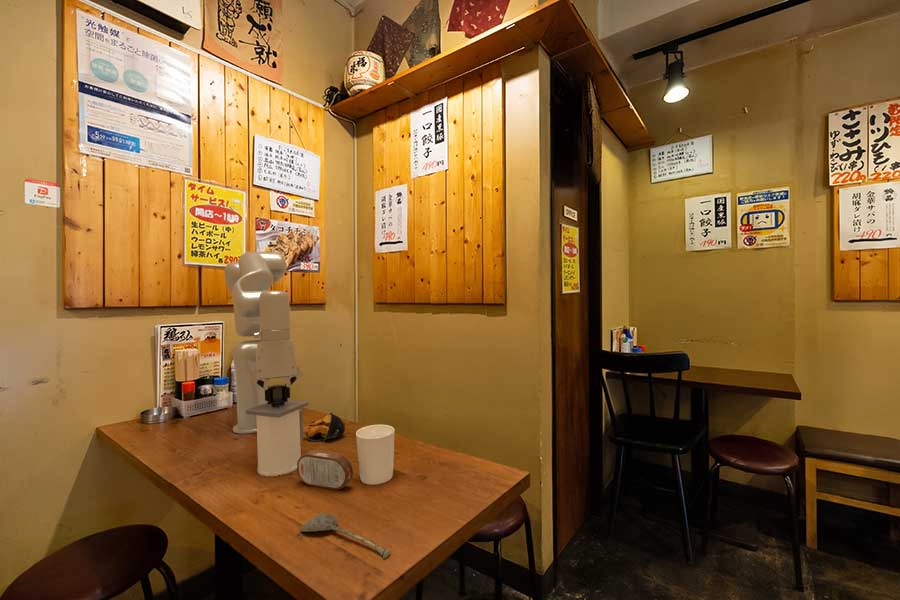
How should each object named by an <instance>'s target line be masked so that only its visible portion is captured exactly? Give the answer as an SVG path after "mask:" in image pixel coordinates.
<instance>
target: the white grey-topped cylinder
mask: <svg viewBox="0 0 900 600" xmlns="http://www.w3.org/2000/svg"><path fill="white" fill-rule="evenodd" d="M308 406H309V401H304V400H303V401H302V400H291V399H288V402H285V404H283V405H280V407H279V408H276V406H271V404H268V402H267V403H265V404H262V405H259V406H256V407H254V408H251V409H248V410H246V414H251V415H256V419H257V432H256V440H257V441H256V443H257V446H256V447H257V474H259V476H261V477H269V476H270V477H278V475H280V476H283V474H284V475H287V474H290V473H292V472H294V471H296V470H297V462H298V460H299V458H300V457H301V456H302V453H301V442H303V441H304V433H303V427H304V422H303V420H304V419H303V408H306V407H308Z"/></svg>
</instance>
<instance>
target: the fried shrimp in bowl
mask: <svg viewBox="0 0 900 600" xmlns="http://www.w3.org/2000/svg"><path fill="white" fill-rule="evenodd" d="M345 427H346V422H343V420H342V419H341V418H340V417H339V416H338V415H336V414H334V413H333V412H330V413H329V414H328V415H326V416H324V418H319V419H316V420H313V421H312V422H310V423H309V424H307V425H306V426H303V435H305V436H306V438H307V439H308V440H309V441H312V442H319V441H327V440H333V439H337V437H339V436H343V435H344V433H345V431H346V429H345Z"/></svg>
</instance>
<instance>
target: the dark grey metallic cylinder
mask: <svg viewBox="0 0 900 600" xmlns="http://www.w3.org/2000/svg"><path fill="white" fill-rule="evenodd" d="M269 386H270V385H269ZM284 386H285V384H274V385H271V386H270V392H271V406H276V408H279V407H280V405H283V404H285V394H284Z"/></svg>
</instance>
